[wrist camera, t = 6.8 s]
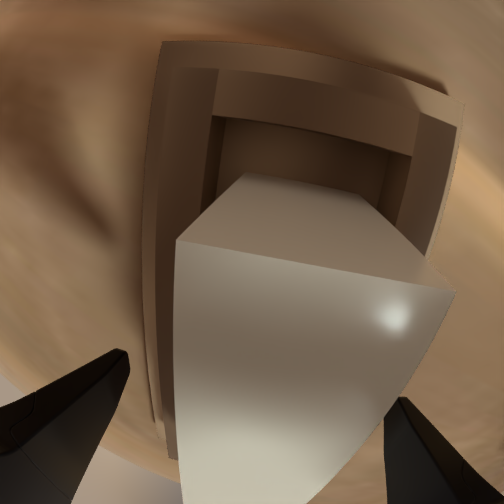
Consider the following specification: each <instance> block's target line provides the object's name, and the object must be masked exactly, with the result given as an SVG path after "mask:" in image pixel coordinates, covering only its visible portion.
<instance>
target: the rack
mask: <svg viewBox="0 0 504 504" xmlns="http://www.w3.org/2000/svg"><path fill="white" fill-rule="evenodd" d="M464 107H465V104H464V103H462V102H460V101H458V100H456V99H454V98H451V97H449V96H447V95H445V94H443V93H440V92H438V91H436V90H433V89H431V88H429V87H426V86H424V85H421V84H419V83H416V82H413V81H411V80H408V79H405V78H403V77H400V76H397V75H394V74H391V73H388V72H385V71H382V70H379V69H376V68H372V67H369V66H365V65H362V64H358V63H355V62H351V61H347V60H343V59H339V58H335V57H330V56H326V55H321V54H316V53H311V52H306V51H300V50H295V49H288V48H282V47H274V46H267V45H258V44H248V43H235V42H217V41H165V42H162V45H161V50H160V55H159V61H158V66H157V72H156V78H155V84H154V90H153V97H152V104H151V112H150V120H149V128H148V137H147V148H146V159H145V172H144V188H143V209H142V292H143V313H144V329H145V342H146V353H147V363H148V373H149V381H150V389H151V397H152V404H153V411H154V417H155V423H156V429H157V435H158V438H160V439H163V440H166V442H167V449H168V455H169V458H171V459H175V460H179V459H178V447H177V434H176V419H175V399H174V368H173V303H174V271H175V250H176V239H177V238H178V237H179V236H180V235H181V234H182V233H183V232H184V231H185V230H186V229H187V228H188V227H189V226H190V225H191V224H192V223H193V222H194V221H195V220H196V219H197V218H198V217H199V216H200V215H201V214H202V213H203V212H204V211H205V210H206V209H207V208H208V207H209V206H210V205H211V204H212V203H213V202H215V201H216V200H217V199H218V198H219V197H220V196H221V195H222V194H223V193H224V192H225V191H226V190H227V189H228V188H229V187H230V186H231V185H232V184H233V183H234V182H236V181H237V180H238V179H239V178H240V177H241V176H242V175H243V174H244V173H245V172H250V173H256V174H262V175H268V176H273V177H279V178H284V179H289V180H295V181H300V182H305V183H310V184H315V185H319V186H324V187H329V188H333V189H338V190H342V191H346V192H351V193H355V194H359V195H360V196H361V197H362V198H363V199H365V200H366V201H367V202H368V203H369V204H370V205H371V206H372V207H374V208H375V209H376V210H377V211H378V212H379V213H380V214H381V215H382V216H383V217H385V218H386V219H387V220H388V221H389V222H390V223H391V224H392V225H393V226H394V227H395V228H396V229H397V230H398V231H399V232H400V233H401V234H402V235H403V236H404V237H405V238H406V239H407V240H408V241H410V242H411V243H412V244H413V245H414V246H415V248H416V249H417V250H418V251H419V252H420V253H421V254H422V255H423V256H424V257H425V258H426V259H427V260H428V259H429V256H430V254H431V251H432V248H433V245H434V242H435V239H436V236H437V232H438V229H439V226H440V223H441V219H442V216H443V212H444V209H445V205H446V201H447V197H448V194H449V190H450V185H451V181H452V177H453V172H454V168H455V163H456V158H457V153H458V148H459V142H460V136H461V130H462V123H463V115H464Z"/></svg>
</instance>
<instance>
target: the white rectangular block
mask: <svg viewBox="0 0 504 504" xmlns="http://www.w3.org/2000/svg"><path fill="white" fill-rule="evenodd" d="M455 294H456V290H455V289H454V288H453V287H452V286H451V285H450V284H449V283H448V281H447V280H446V279H445V278H444V277H443V276H442V275H441V274H440V273H439V272H438V270H437V269H436V268H435V267H434V266H433V265H432V264H431V263H430V262H429V261H428V260H427V259H426V258H425V257H424V256H423V255H422V254H421V253H420V252H419V251H418V250H417V249H416V248H415V246H414V245H413V244H412V243H411V242H410V241H408V240H407V239H406V238H405V237H404V236H403V235H402V234H401V233H400V232H399V231H398V230H397V229H396V228H395V227H394V226H393V225H392V224H391V223H390V222H389V221H388V220H387V219H386V218H385V217H383V216H382V215H381V214H380V213H379V212H378V211H377V210H376V209H375V208H374V207H372V206H371V205H370V204H369V203H368V202H367V201H366V200H365V199H363V198H362V197H361V196H360V195H359V194H355V193H351V192H346V191H342V190H338V189H333V188H329V187H324V186H319V185H315V184H310V183H305V182H300V181H295V180H289V179H284V178H279V177H273V176H268V175H262V174H256V173H250V172H245V173H244V174H243V175H242V176H241V177H240V178H239V179H238V180H237V181H236V182H234V183H233V184H232V185H231V186H230V187H229V188H228V189H227V190H226V191H225V192H224V193H223V194H222V195H221V196H220V197H219V198H218V199H217V200H216V201H215V202H213V203H212V204H211V205H210V206H209V207H208V208H207V209H206V210H205V211H204V212H203V213H202V214H201V215H200V216H199V217H198V218H197V219H196V220H195V221H194V222H193V223H192V224H191V225H190V226H189V227H188V228H187V229H186V230H185V231H184V232H183V233H182V234H181V235H180V236H179V237H178V238H177V239H176V250H175V271H174V303H173V368H174V399H175V419H176V434H177V447H178V459H179V470H180V479H181V488H182V496H183V504H306V503H307V502H309V501H310V500H311V499H312V498H313V497H314V496H315V495H316V494H317V493H318V492H319V491H320V490H321V489H322V488H323V487H324V486H325V485H326V484H327V483H328V482H329V481H330V480H331V479H332V478H333V477H334V476H335V475H336V474H337V473H338V472H339V471H340V470H341V468H342V467H343V466H344V465H345V464H346V463H347V462H348V461H349V460H350V458H351V457H352V456H353V455H354V454H355V453H356V452H357V450H358V449H359V448H360V447H361V446H362V444H363V443H364V442H365V441H366V440H367V438H368V437H369V436H370V435H371V433H372V432H373V431H374V429H375V428H376V427H377V426H378V424H379V423H380V422H381V420H382V419H383V418H384V416H385V415H386V414H387V412H388V411H389V409H390V408H391V407H392V405H393V404H394V402H395V401H396V399H397V398H398V397H399V395H400V394H401V392H402V391H403V389H404V388H405V386H406V385H407V383H408V381H409V380H410V378H411V377H412V375H413V374H414V372H415V370H416V369H417V367H418V365H419V364H420V362H421V360H422V359H423V357H424V355H425V353H426V352H427V350H428V348H429V346H430V344H431V343H432V341H433V339H434V337H435V335H436V333H437V331H438V330H439V328H440V326H441V324H442V322H443V320H444V318H445V316H446V314H447V311H448V309H449V307H450V305H451V303H452V301H453V299H454V296H455Z"/></svg>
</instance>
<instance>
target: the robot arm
mask: <svg viewBox="0 0 504 504" xmlns="http://www.w3.org/2000/svg"><path fill="white" fill-rule="evenodd" d="M129 374H130V364H129V358H128V353H127V352H126V351H124V350H121V349H118V348H116V349H113V350H111V351H109V352H108V353H106V354H104V355H102V356H100V357H98V358H97V359H95V360H93V361H91V362H89V363H87V364H85V365H84V366H82V367H80V368H78V369H76V370H74V371H72V372H71V373H69V374H67V375H65V376H63V377H61V378H59V379H57V380H56V381H54V382H52V383H50V384H48V385H46V386H44V387H42V388H40V389H39V390H37V391H36V392H33V393H31V394H29V395H27V396H25V397H23V398H21V399H19V400H17V401H15V402H12V403H10V404H7V405H5V406H2V407H0V504H71V502H72V501H71V500H73V497H74V495H75V493H76V491H77V489H78V486H79V484H80V482H81V480H82V478H83V476H84V474H85V471H86V469H87V467H88V465H89V463H90V461H91V459H92V457H93V455H94V453H95V451H96V449H97V447H98V445H99V443H100V441H101V439H102V437H103V435H104V433H105V431H106V429H107V427H108V425H109V423H110V421H111V419H112V417H113V415H114V413H115V411H116V408H117V406H118V403H119V401H120V398H121V395H122V392H123V390H124V387H125V385H126V382H127V379H128V377H129ZM384 461H385V473H386V486H387V504H504V496H503V495H502V494H501V493H499V492H498V491H497V490H496V489H495V488H494V487H493V486H491V485H490V484H489V483H488V482H487V481H486V480H485V479H484V478H483V477H481V476H480V475H479V474H478V473H477V472H476V471H475V470H474V469H473V468H472V467H471V466H470V464H469V463H468V462H467V461H466V460H465V459H463V457H462V456H461V455H460V454H459V453H458V452H457V450H456V449H455V448H454V447H453V446H452V445H451V444H450V443H449V442H448V441H447V440H446V439H445V438H444V436H443V435H442V434H441V433H440V432H439V431H438V430H437V429H436V428H435V427H434V426H433V425H432V424H431V422H430V421H429V420H428V419H427V418H426V417H425V416H424V415H423V414H422V413H421V412H420V411H419V410H418V409H417V408H416V406H415V405H414V404H413V403H412V402H411V401H410V400H409V399H408V398H407V397H398V398H397V399H396V401H395V402H394V404H393V405H392V407H391V408H390V409H389V411H388V412H387V414H386V415H385V416H384Z"/></svg>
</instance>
